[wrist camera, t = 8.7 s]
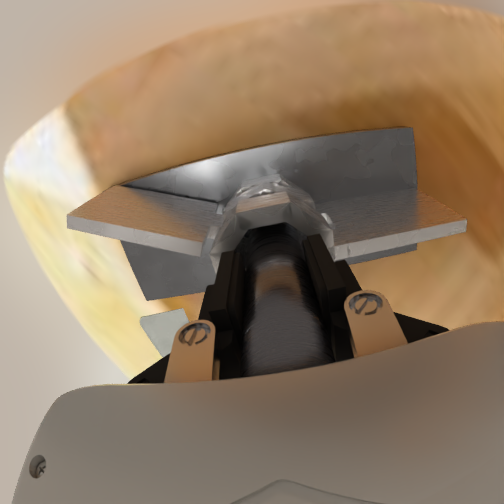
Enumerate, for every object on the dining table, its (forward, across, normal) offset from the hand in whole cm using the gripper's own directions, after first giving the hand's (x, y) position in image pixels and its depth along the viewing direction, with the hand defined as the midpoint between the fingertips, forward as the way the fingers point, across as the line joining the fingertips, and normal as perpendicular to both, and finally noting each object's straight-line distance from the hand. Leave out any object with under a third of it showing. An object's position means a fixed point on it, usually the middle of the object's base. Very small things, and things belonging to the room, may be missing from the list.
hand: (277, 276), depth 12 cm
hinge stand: (+8, 0, 0) cm, 8 cm away
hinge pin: (+3, 0, 0) cm, 3 cm away
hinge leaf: (+7, +3, -2) cm, 8 cm away
